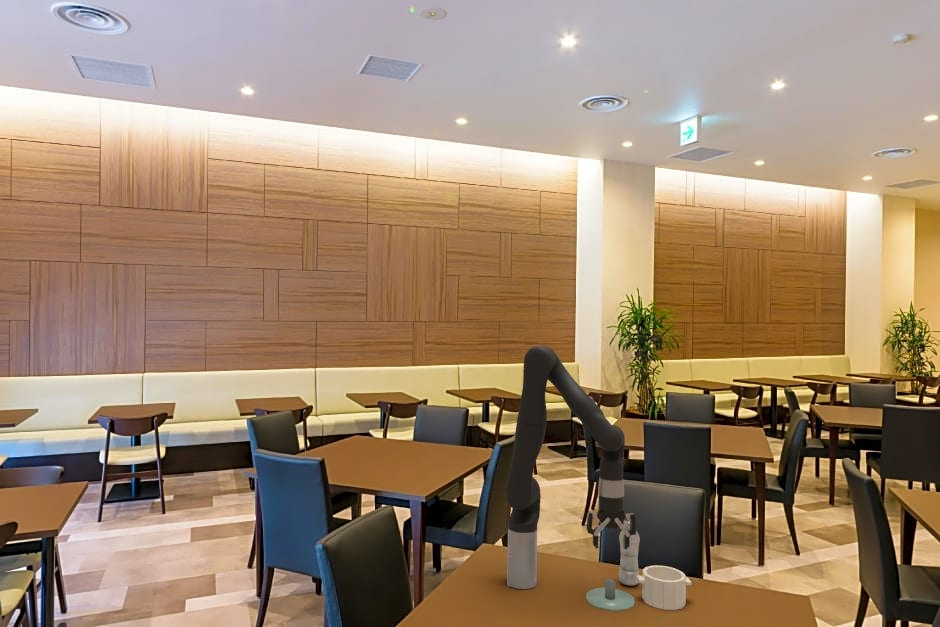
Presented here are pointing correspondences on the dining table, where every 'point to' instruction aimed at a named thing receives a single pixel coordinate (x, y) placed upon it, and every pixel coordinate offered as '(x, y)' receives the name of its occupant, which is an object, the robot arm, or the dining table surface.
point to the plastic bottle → (629, 558)
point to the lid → (610, 597)
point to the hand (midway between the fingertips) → (611, 548)
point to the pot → (664, 587)
